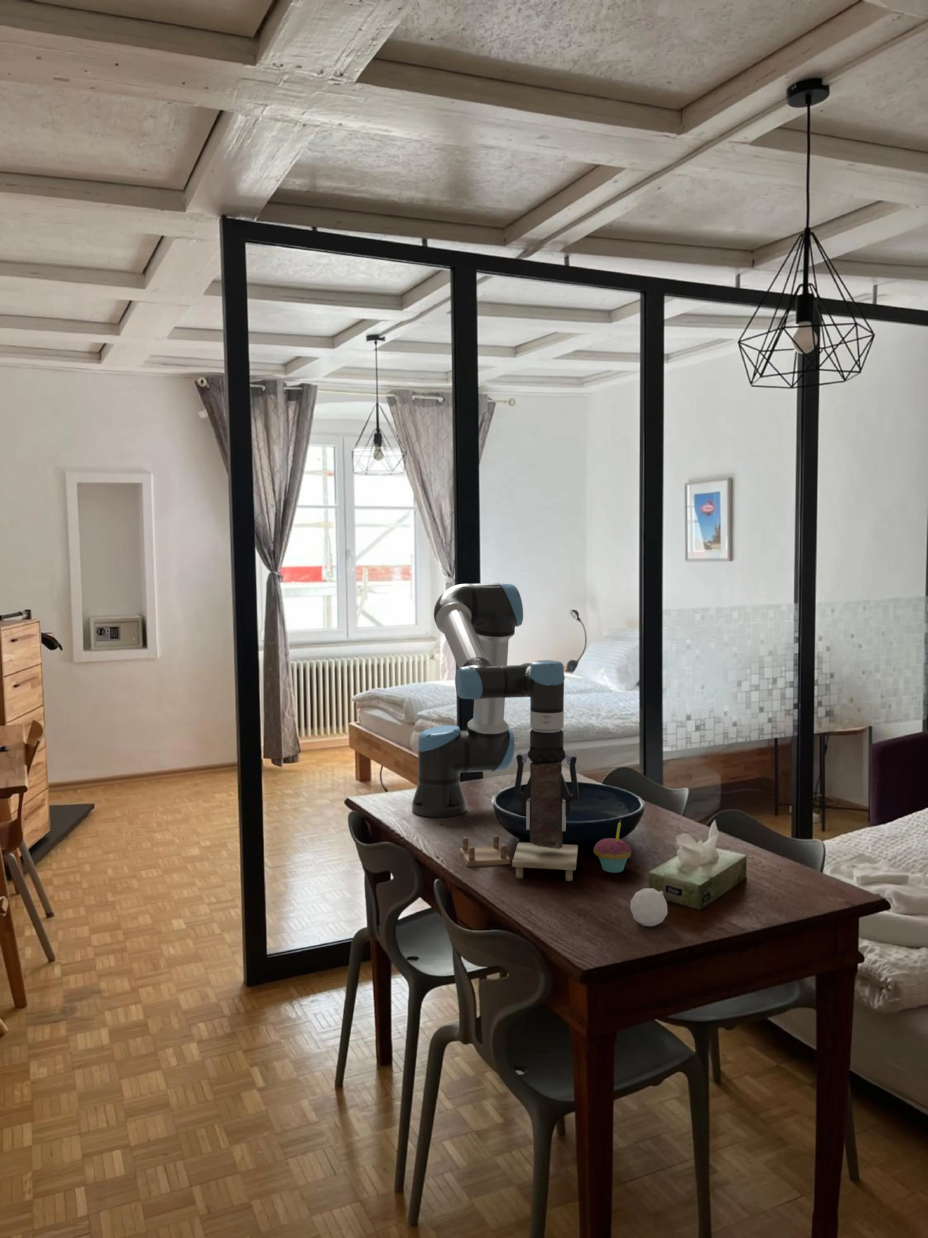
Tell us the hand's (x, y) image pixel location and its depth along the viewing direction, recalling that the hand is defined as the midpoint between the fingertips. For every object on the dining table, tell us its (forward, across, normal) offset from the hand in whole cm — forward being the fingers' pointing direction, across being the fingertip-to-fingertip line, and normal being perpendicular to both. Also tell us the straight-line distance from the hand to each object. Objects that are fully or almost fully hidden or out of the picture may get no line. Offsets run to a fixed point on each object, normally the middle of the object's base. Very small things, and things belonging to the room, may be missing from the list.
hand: (546, 828), depth 215 cm
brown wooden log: (+4, 0, 0) cm, 4 cm away
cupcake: (+10, +15, +3) cm, 18 cm away
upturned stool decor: (+10, -15, +6) cm, 19 cm away
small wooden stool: (+10, 0, 0) cm, 10 cm away
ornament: (+10, +22, -28) cm, 37 cm away
